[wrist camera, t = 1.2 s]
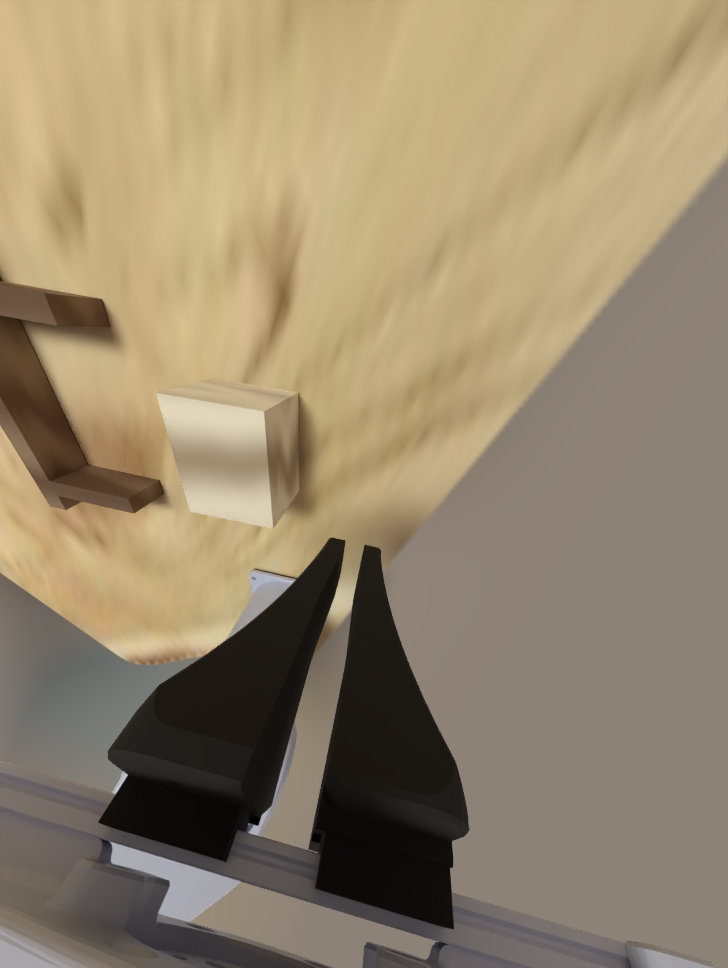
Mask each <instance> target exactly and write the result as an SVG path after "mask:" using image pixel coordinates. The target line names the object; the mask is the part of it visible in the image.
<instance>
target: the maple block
mask: <svg viewBox="0 0 728 968" xmlns="http://www.w3.org/2000/svg"><path fill="white" fill-rule="evenodd" d="M156 395H157V398H158V402H159V405H160V409H161V412H162V416H163V419H164V423H165V426H166V430H167V433H168V437H169V440H170V444H171V447H172V450H173V454H174V457H175V461H176V464H177V468H178V471H179V475H180V478H181V482H182V485H183V489H184V492H185V496H186V499H187V503H188V506H189V510H190V512H194V513H199V514H204V515H209V516H214V517H219V518H223V519H228V520H233V521H238V522H243V523H248V524H253V525H258V526H263V527H267V528H272V529H273V528H274V527H275V525H276V524H277V522H278V521H279V520H280V518H281V517H282V515H283V514H284V512H285V511H286V509H287V508H288V507H289V505H290V504H291V502H292V501H293V499H294V498H295V496H296V495H297V494H298V492H299V405H298V392H293V391H287V390H281V389H275V388H269V387H263V386H257V385H251V384H245V383H239V382H233V381H227V380H221V379H215V378H214V379H210V380H206V381H202V382H198V383H194V384H190V385H186V386H182V387H178V388H174V389H169V390H165V391H161V392H157V393H156Z"/></svg>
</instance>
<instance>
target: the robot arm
mask: <svg viewBox="0 0 728 968" xmlns="http://www.w3.org/2000/svg"><path fill="white" fill-rule="evenodd" d="M344 547H345V540H340V539H336V538H330V539H329V540H328V541H327V543H326V544H325V546H324V547H323V548H322V550H321V551H320V552H319V554H318V555H317V556H316V558H315V559H314V560H313V561H312V562H311V564H310V565H309V566H308V567H307V568H306V569H305V570H304V572H303V573H302V574H301V575H300V576H299V577H298V578H297V579H293V578H288V577H284V576H280V575H275V574H271V573H267V572H262V571H258V570H251V572H250V573H249V575H250V583H251V590H252V597H251V599H250V601H249V602H248V604H247V606H246V607H245V609H244V611H243V612H242V614H241V616H240V617H239V619H238V621H237V622H236V624H235V626H234V627H233V629H232V631H231V632H230V634H229V636H228V637H227V639H226V641H224V642H223V643H221V644H220V645H219V646H217V647H216V648H215V649H213V650H212V651H210V652H209V653H208V654H206V655H205V656H203V657H202V658H200V659H199V660H197V661H196V662H194V663H193V664H191V665H189V666H188V667H186V668H185V669H183V670H182V671H180V672H179V673H177V674H176V675H174V676H172V677H171V678H169V679H168V680H166V681H165V682H163V683H162V684H160V685H159V686H158V687H157V688H156V689H155V690H154V691H153V693H152V694H151V695H150V696H149V697H148V698H147V700H146V701H145V702H144V703H143V704H142V706H141V707H140V708H139V709H138V710H137V711H136V713H135V714H134V715H133V717H132V718H131V720H130V721H129V722H128V724H127V725H126V727H125V728H124V729H123V731H122V732H121V734H120V735H119V737H118V738H117V739H116V740H115V742H114V743H113V745H112V746H111V747H110V749H109V750H108V759H109V760H110V761H111V762H112V763H113V764H115V765H116V766H117V767H119V768H120V769H121V770H122V771H123V772H122V774H121V777H120V780H119V782H118V784H117V785H116V787H115V789H114V790H113V792H112V793H110V792H107V791H103V790H100V789H96V788H93V787H89V786H86V785H83V784H79V783H75V782H72V781H69V780H65V779H62V778H59V777H55V776H52V775H48V774H44V773H42V772H38V771H35V770H31V769H28V768H24V767H20V766H17V765H14V764H11V763H7V762H3V761H0V968H332V967H329V966H327V965H324V964H321V963H318V962H316V961H312V960H310V959H307V958H304V957H301V956H298V955H296V954H293V953H290V952H287V951H284V950H281V949H278V948H275V947H272V946H269V945H266V944H262V943H259V942H256V941H253V940H250V939H246V938H243V937H239V936H236V935H233V934H229V933H226V932H223V931H218V930H215V929H212V928H208V927H204V926H201V925H197V924H194V923H190V921H192V920H193V919H194V918H195V917H197V916H198V915H199V914H201V913H202V912H203V911H204V910H206V909H207V908H209V907H210V906H211V905H212V904H214V903H215V902H216V901H218V900H219V899H220V898H222V897H223V896H224V895H226V894H227V893H228V892H230V891H231V890H232V889H233V888H234V887H236V886H237V885H238V884H239V883H240V882H245V883H248V884H251V885H254V886H258V887H261V888H264V889H267V890H271V891H274V892H277V893H281V894H284V895H287V896H291V897H294V898H297V899H300V900H304V901H307V902H310V903H314V904H317V905H320V906H323V907H327V908H330V909H333V910H337V911H340V912H343V913H346V914H350V915H353V916H356V917H360V918H363V919H366V920H370V921H373V922H376V923H379V924H383V925H386V926H390V927H393V928H396V929H399V930H403V931H406V932H409V933H412V934H416V935H419V936H422V937H425V938H429V939H432V940H435V941H439V942H436V943H435V944H434V945H433V946H432V949H431V952H430V955H429V958H428V959H427V960H424V959H422V958H419V957H417V956H414V955H411V954H408V953H405V952H401V951H398V950H395V949H391V948H388V947H384V946H380V945H377V944H373V943H369V942H367V943H366V945H365V946H364V956H363V968H717V967H716V966H715V965H714V964H713V963H712V962H710V961H706V960H703V959H700V958H697V957H693V956H690V955H686V954H683V953H679V952H676V951H673V950H669V949H666V948H662V947H658V946H654V945H650V944H646V943H639V942H633V941H626V943H623V942H620V941H616V940H613V939H609V938H606V937H603V936H599V935H596V934H592V933H589V932H586V931H582V930H578V929H575V928H572V927H568V926H565V925H562V924H558V923H555V922H551V921H548V920H544V919H541V918H537V917H534V916H531V915H527V914H524V913H521V912H517V911H514V910H510V909H507V908H503V907H500V906H496V905H493V904H490V903H486V902H483V901H479V900H476V899H473V898H469V897H466V896H462V895H459V894H456V893H452V891H451V878H450V868H453V851H452V841H453V840H456V839H459V838H461V837H464V836H465V835H466V834H467V833H468V831H469V825H468V814H467V807H466V802H465V797H464V792H463V788H462V783H461V779H460V776H459V772H458V768H457V765H456V762H455V760H454V758H453V756H452V754H451V752H450V750H449V748H448V747H447V744H446V742H445V741H444V739H443V737H442V735H441V733H440V731H439V729H438V727H437V725H436V723H435V721H434V719H433V717H432V715H431V712H430V710H429V708H428V706H427V704H426V702H425V700H424V698H423V696H422V693H421V691H420V688H419V686H418V684H417V682H416V679H415V677H414V675H413V672H412V670H411V668H410V665H409V663H408V660H407V657H406V655H405V652H404V650H403V647H402V644H401V641H400V639H399V636H398V633H397V630H396V627H395V624H394V620H393V616H392V613H391V609H390V606H389V602H388V598H387V593H386V589H385V584H384V579H383V572H382V565H381V550H380V549H379V548H377V547H372V546H368V545H365V546H364V550H363V555H362V559H361V564H360V569H359V574H358V579H357V584H356V589H355V594H354V599H353V606H352V614H351V623H350V631H349V639H348V648H347V656H346V662H345V669H344V674H343V679H342V684H341V689H340V694H339V699H338V704H337V709H336V714H335V719H334V724H333V729H332V734H331V739H330V744H329V749H328V754H327V760H326V764H325V769H324V774H323V779H322V784H321V789H320V794H319V799H318V804H317V809H316V814H315V819H314V824H313V829H312V834H311V839H310V844H309V850H313V851H316V852H319V853H315V852H312V851H308V850H305V849H302V848H298V847H295V846H291V845H288V844H284V843H281V842H277V841H274V840H271V839H267V838H264V837H262V834H263V832H264V829H265V827H266V825H267V822H268V821H269V819H270V818H271V816H272V814H273V812H274V810H275V808H276V806H277V803H278V801H279V798H280V796H281V793H282V791H283V788H284V785H285V782H286V779H287V776H288V773H289V769H290V766H291V762H292V758H293V754H294V749H295V744H296V734H297V733H296V726H295V717H296V713H297V710H298V706H299V702H300V699H301V695H302V691H303V688H304V684H305V681H306V677H307V674H308V670H309V666H310V663H311V660H312V657H313V654H314V651H315V648H316V645H317V642H318V639H319V637H320V634H321V631H322V629H323V626H324V623H325V621H326V618H327V615H328V613H329V610H330V607H331V604H332V602H333V599H334V596H335V593H336V589H337V585H338V581H339V577H340V574H341V568H342V561H343V554H344Z"/></svg>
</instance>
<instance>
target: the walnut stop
mask: <svg viewBox="0 0 728 968" xmlns="http://www.w3.org/2000/svg"><path fill="white" fill-rule="evenodd" d="M19 319H22V320H28V321H33V322H39V323H44V324H49V325H55V326H95V327H110V325H109V321H108V318H107V315H106V312H105V309H104V306H103V303H102V299H98V298H92V297H87V296H81V295H75V294H70V293H64V292H59V291H53V290H47V289H42V288H36V287H30V286H25V285H19V284H14V283H8V282H2V281H1V279H0V425H1V427H2V429H3V430H4V432H5V434H6V435H7V437H8V438H9V440H10V442H11V443H12V445H13V447H14V448H15V450H16V451H17V453H18V455H19V456H20V458H21V460H22V461H23V463H24V464H25V466H26V468H27V469H28V471H29V473H30V474H31V476H32V477H33V479H34V481H35V482H36V484H37V486H38V487H39V489H40V490H41V492H42V494H43V495H44V497H45V498H46V500H47V502H48V503H49V505H50V506H51V507H55V508H60V509H64V510H67V509H69V508H71V507H72V506H74V505H76V504H78V503H80V502H86V503H91V504H95V505H100V506H104V507H108V508H113V509H117V510H122V511H126V512H130V513H136V512H137V511H139V510H140V509H142V508H143V507H145V506H146V505H148V504H149V503H151V502H152V501H154V500H155V499H157V498H158V497H160V496H161V495H163V491H162V488H161V485H160V482H159V480H155V479H150V478H145V477H141V476H136V475H132V474H127V473H122V472H118V471H113V470H109V469H104V468H99V467H95V466H90V465H88V464H87V462H86V460H85V458H84V456H83V454H82V451H81V449H80V447H79V445H78V443H77V441H76V439H75V437H74V434H73V432H72V430H71V428H70V426H69V424H68V422H67V420H66V417H65V415H64V413H63V411H62V409H61V407H60V405H59V403H58V400H57V398H56V396H55V394H54V392H53V390H52V388H51V386H50V383H49V381H48V379H47V377H46V375H45V373H44V371H43V369H42V366H41V364H40V362H39V360H38V358H37V356H36V354H35V352H34V349H33V347H32V345H31V343H30V341H29V339H28V337H27V335H26V332H25V330H24V328H23V326H22V324H21V322H20V320H19Z"/></svg>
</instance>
